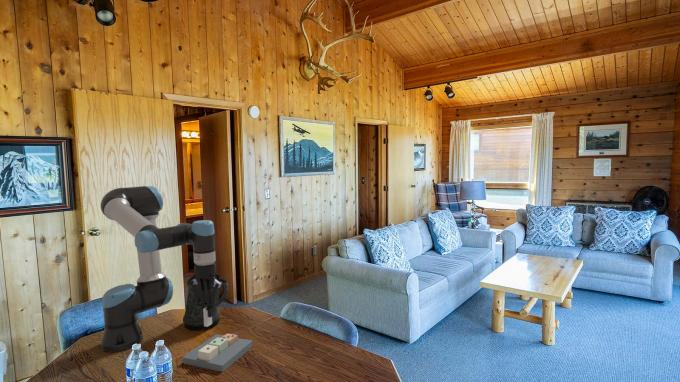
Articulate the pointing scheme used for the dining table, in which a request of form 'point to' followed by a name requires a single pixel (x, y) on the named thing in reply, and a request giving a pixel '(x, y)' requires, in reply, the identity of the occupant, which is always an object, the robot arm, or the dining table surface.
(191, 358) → the button board
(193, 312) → the beer stein
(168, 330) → the dining table surface
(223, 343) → the pale green block
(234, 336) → the pink square block
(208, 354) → the cream square block
